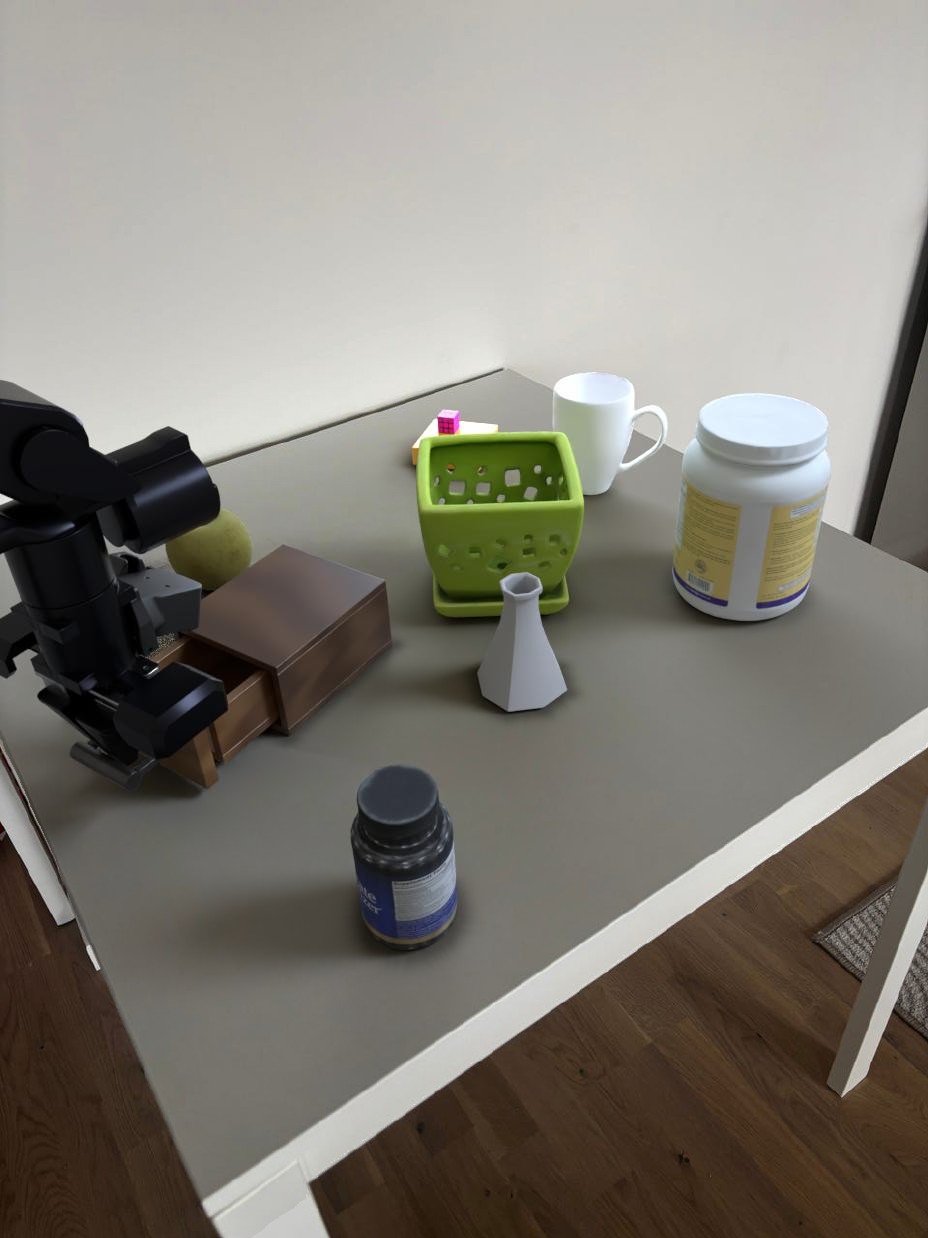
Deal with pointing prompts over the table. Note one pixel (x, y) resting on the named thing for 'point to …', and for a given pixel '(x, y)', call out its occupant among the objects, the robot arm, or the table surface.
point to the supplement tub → (751, 506)
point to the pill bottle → (404, 858)
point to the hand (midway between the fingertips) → (128, 762)
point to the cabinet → (299, 627)
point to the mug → (600, 425)
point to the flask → (520, 651)
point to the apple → (212, 551)
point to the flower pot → (498, 518)
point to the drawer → (220, 740)
